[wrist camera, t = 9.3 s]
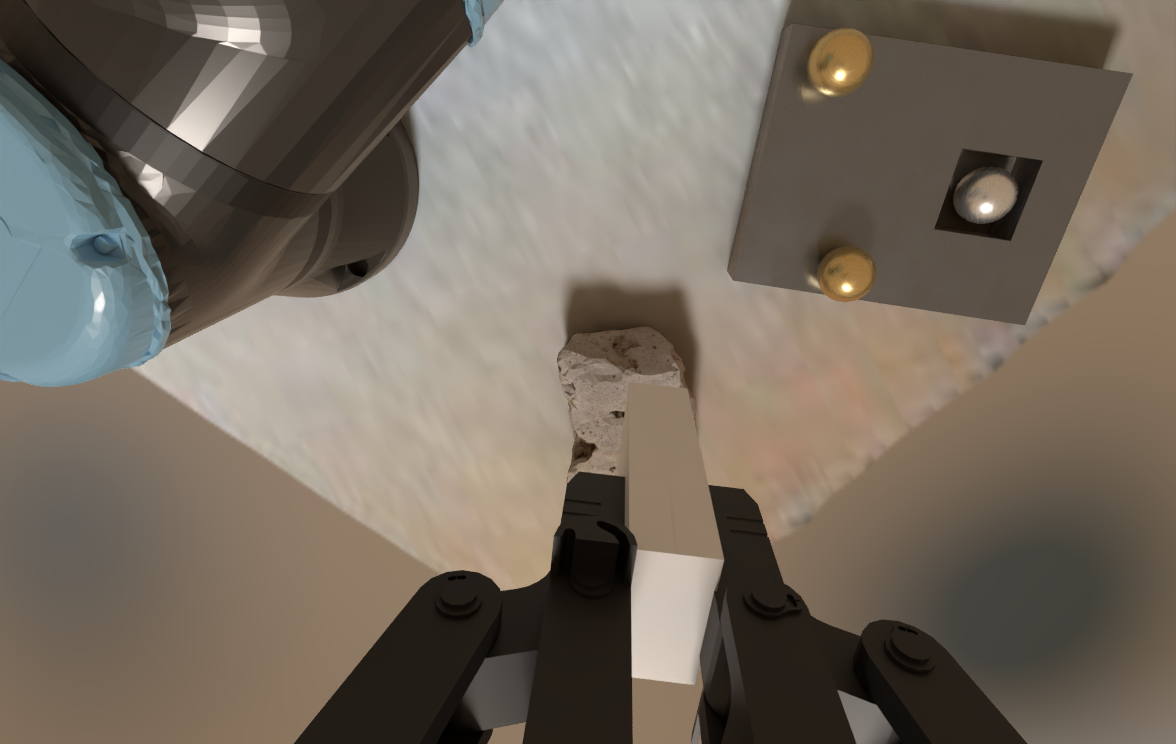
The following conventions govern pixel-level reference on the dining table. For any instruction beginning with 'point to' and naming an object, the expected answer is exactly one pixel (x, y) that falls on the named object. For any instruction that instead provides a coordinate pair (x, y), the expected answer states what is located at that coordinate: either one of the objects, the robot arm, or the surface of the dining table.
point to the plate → (920, 172)
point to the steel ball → (985, 195)
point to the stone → (611, 388)
